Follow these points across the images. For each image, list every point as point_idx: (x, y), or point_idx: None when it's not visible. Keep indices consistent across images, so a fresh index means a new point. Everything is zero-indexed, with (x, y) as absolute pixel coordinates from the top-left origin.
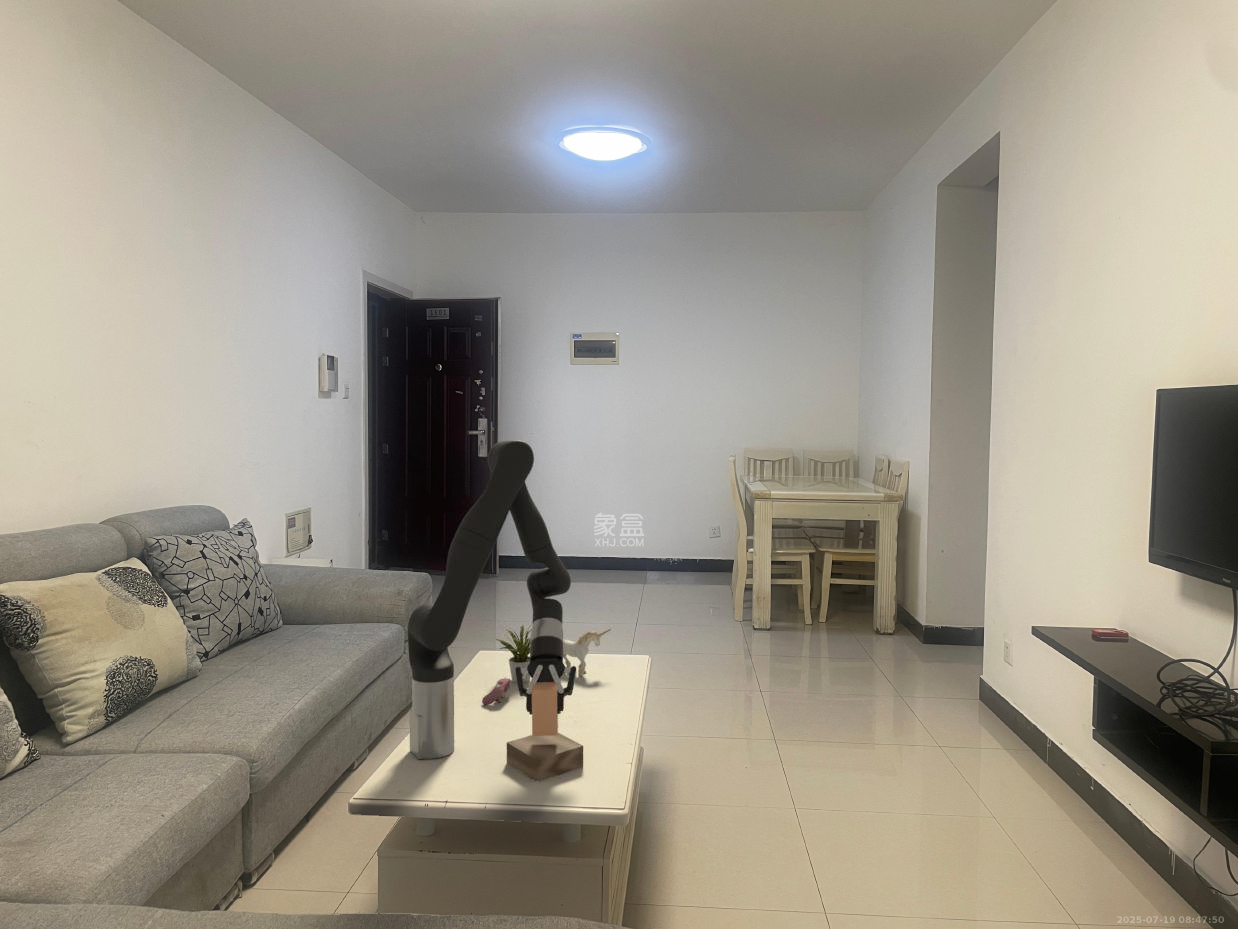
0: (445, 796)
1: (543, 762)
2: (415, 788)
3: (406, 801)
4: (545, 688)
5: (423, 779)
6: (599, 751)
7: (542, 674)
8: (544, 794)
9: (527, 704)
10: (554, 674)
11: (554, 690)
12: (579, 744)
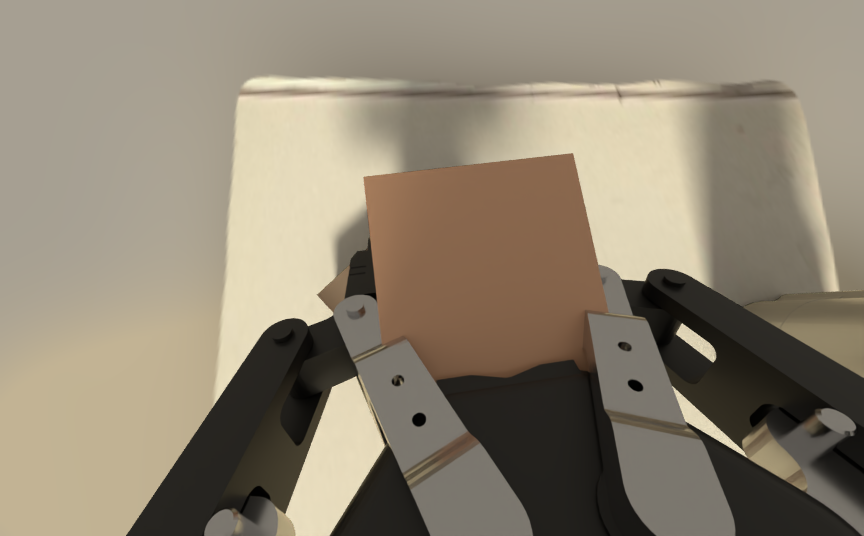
0: (631, 115)
1: None
2: (713, 145)
3: (702, 88)
4: (468, 201)
5: (717, 190)
6: None
7: (574, 437)
8: (413, 141)
9: None
10: (421, 433)
11: (385, 175)
12: (330, 302)
